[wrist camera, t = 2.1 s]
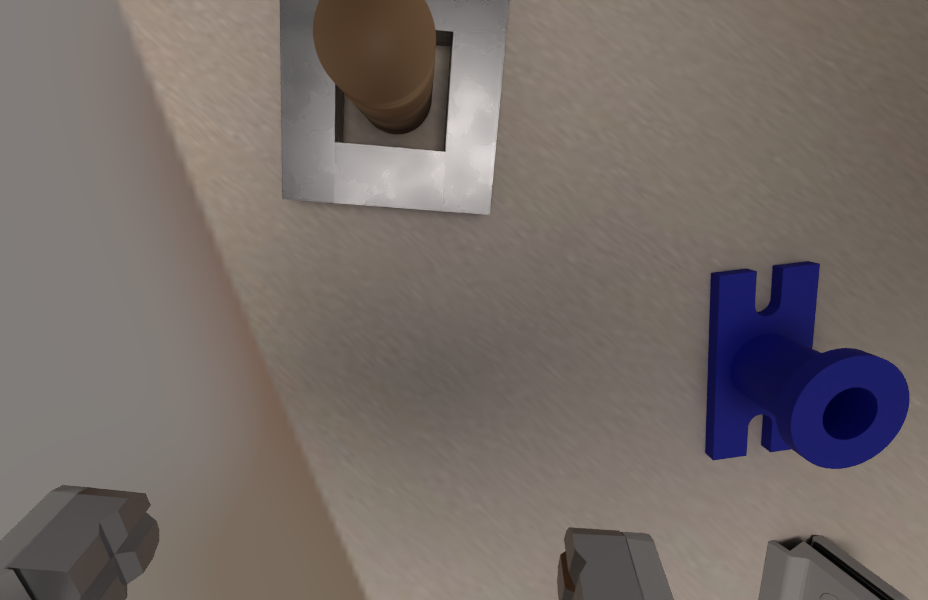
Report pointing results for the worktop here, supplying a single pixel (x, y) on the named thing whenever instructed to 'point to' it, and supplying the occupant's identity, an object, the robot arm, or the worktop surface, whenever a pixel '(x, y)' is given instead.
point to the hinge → (820, 575)
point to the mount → (793, 376)
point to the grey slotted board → (389, 168)
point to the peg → (379, 57)
